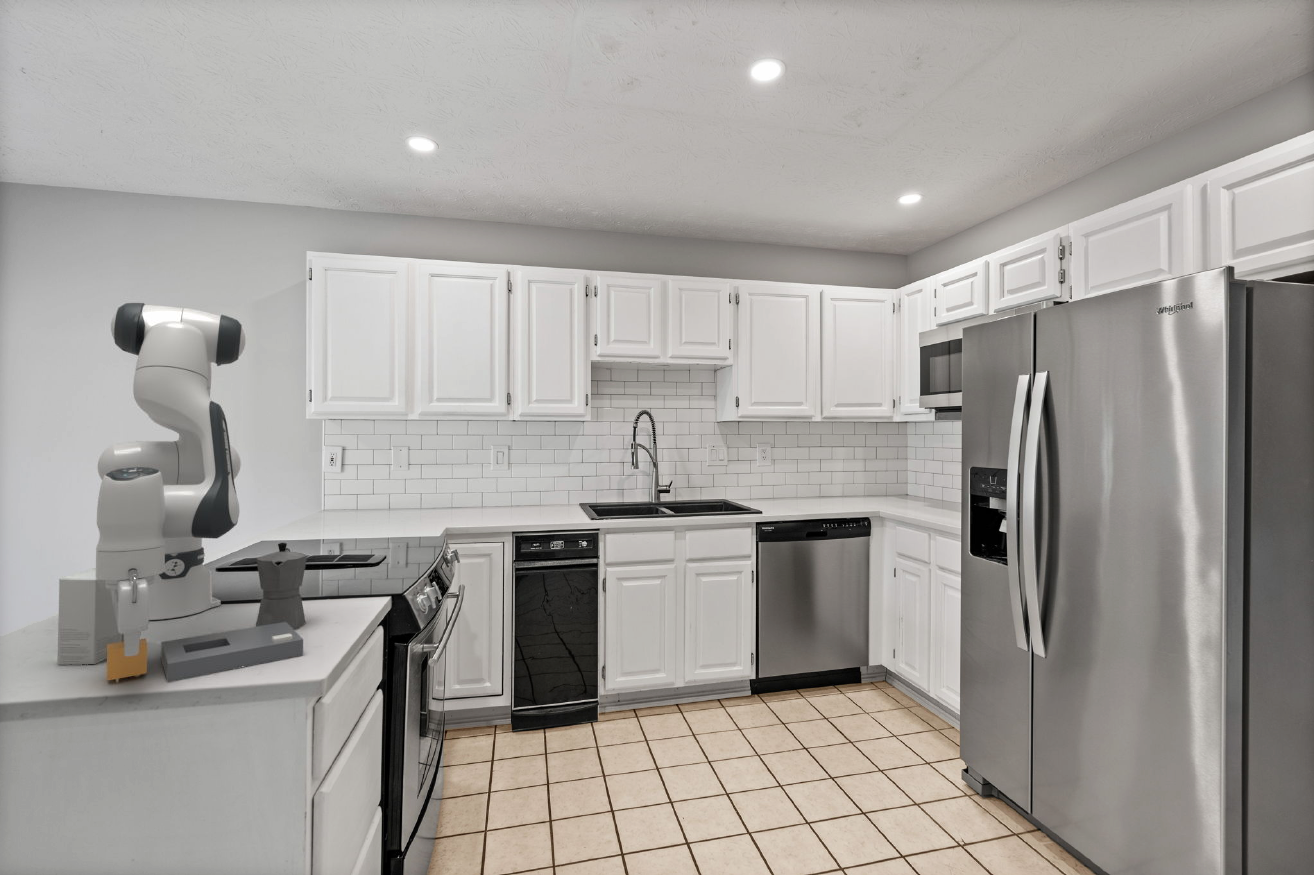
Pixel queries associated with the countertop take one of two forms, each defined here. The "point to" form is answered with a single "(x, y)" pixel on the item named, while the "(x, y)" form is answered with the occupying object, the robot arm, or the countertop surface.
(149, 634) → the countertop surface
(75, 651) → the skincare box
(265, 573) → the coffeepot
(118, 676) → the plug
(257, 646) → the socket plate
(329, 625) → the countertop surface
